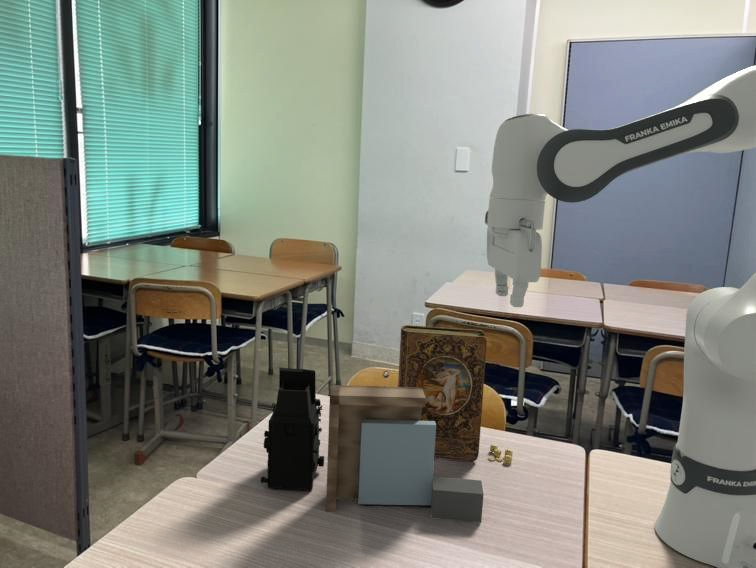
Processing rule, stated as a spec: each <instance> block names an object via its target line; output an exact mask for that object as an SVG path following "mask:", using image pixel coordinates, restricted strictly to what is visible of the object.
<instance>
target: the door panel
mask: <svg viewBox="0 0 756 568" xmlns="http://www.w3.org/2000/svg"><path fill="white" fill-rule="evenodd" d="M435 436H436V423H435V421H411V420H372V419H362V422H361V445H360V468H359V491H358V499H357V502H358V503H357V504H358V505H386V506H387V505H390V506H391V505H392V506H431V497H432V482H433V476H434V465H435V464H434V463H435V458H434V451H435Z"/></svg>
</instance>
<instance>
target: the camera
mask: <svg viewBox="0 0 756 568" xmlns="http://www.w3.org/2000/svg"><path fill="white" fill-rule="evenodd" d="M278 372H279V373H278V374H279V375H278V377H279V378H278V379H279V381H278V390H277V395H276V397H277V399H276V402H274V401H273V402H272V404H271V407H273V408H272V409H273V410H272V414H271V416H270V418H269V419H268V430H264V433H263V435H264V439H263V449H265V450H266V451H265V452H266V453H267V477H265V476H261V477H260V483H261V484H264V483H266V484H267V487H268V488H269V489H277V490H278V489H280V490H295V491H297V490H300V491H311V492H312V491H313V488H314V481H315V477H316V474H317V470H318V467H321V468H323V467H324V466H325V456H324V455H320V446H321V440H320V439H319V438H320V435H321V432H323V428H321V426H319V425H320V423H321V421H322V418H321V416H322V413H321V412H322V410H323V405H322V403H321V399H320V398H316V396H317V393H316V387H317V385H316V370H315V369H307V368H306V369H305V368H290V367H279V368H278Z"/></svg>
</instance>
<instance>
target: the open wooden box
mask: <svg viewBox="0 0 756 568" xmlns="http://www.w3.org/2000/svg"><path fill="white" fill-rule="evenodd" d="M329 390H330V391H329V408H328V410H329V411H328V436H327V437H328V438H327V439H328V442H327V443H328V444H327V445H328V446H327V467H326V468H327V472H326V498H325V499H326V500H325V511H326V512H336V504H337V503H336V500H358V491H359V468H360V445H361V422H362V419H372V420H411V421H421V409H422V407H425V400H426V398H425V395H424V392H423V389H422V388H417V387H398V386H381V385H380V386H379V385H378V386H377V385H375V386H373V385H347V384H346V385H344V384H343V385H341V384H330V389H329Z"/></svg>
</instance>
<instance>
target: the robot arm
mask: <svg viewBox="0 0 756 568" xmlns="http://www.w3.org/2000/svg"><path fill="white" fill-rule="evenodd" d="M493 146H494V147H493V151H492V152H493V154H492V160H491V161H492V162H491V175H492V188H491V191H490V194H489V197H488V198H489V199H488V201H489V202H488V207H487V208H488V209H487V211H486V212H485V214H484V224H485V225H487V228H486V260H487V264H488V266H489V267H491V268H493V269H494V280H495V294H496V295H497V296H499V297H507V296H508V294H509V293H508V292H509V285H508V278H510V279H512V286H513V287H512V290H511V291H512V292H511V294H510V295H509V296H510V298H509V304H510V305H511V306H512V307H513V308H522V307H523V306H524V304H525V303H524V302H525V301H524V300H525V296H526V294H527V291H528V288H529V283H538V282H539V280H540V276H541V273H542V251H543V246H542V245H543V244H542V243H543V242H542V235H541V234H540V233H539V232H537V231H539V230H540V231H541V230H543V228H544V219H545V216H544V215H545V207H546V206H545V205H546V197H547V195H549V196H550V197H552V199H555V200H558V201H560V202H564V203H570V204H571V203H573V204H575V203H580V202H585V201H587V200H590V199H592V198H593V197H595V196H596V195H598V194H599V193H600V192H601V191H603V190H604V189H605V188H606V187H607V186H608V185H610V184H611V182H612V181H614V180H615V179H617V178H619V177H620V176H623V175H624V174H626V173H628V172H631V171H634V170H637V169H640V168H644V167H646V166H650V165H652V164H656V163H660V162H662V161H665V160H668V159H671V158H674V157H676V156H680V155H684V154H690V153H700V152H704V153H705V152H706V153H714V154H727V153H735V152H740V151H741V152H742V151H746V150H750V149H755V148H756V64H755V65H753V66H750V67H747V68H745V69H742V70H740V71H737V72H736V73H733V74H730V75H728V76H726V77H725V78H722V79H721V80H719V81H717V82H714V83H713V84H711V85H709V86H708V87H706V88H704V89H702V90H701V91H700V92H698V93H696V94H695V95H693V96H691V97H690V98H689V99H687V100H686V101H684V102H682V103H680V104H678V105H677V106H674V107H672V108H669V109H666V110H664V111H661V112H657V113H655V114H653V115H649V116H645V117H643V118H639V119H637V120H634V121H631V122H628V123H626V124H623V125H620V126H617V127H613V128H608V129H587V128H585V129H584V128H573V129H572V128H571V129H567V128H566V127H565V128H564V127H563V126H561V125H559V124H558V123H557V122H555V121H553V120H552V119H550V117H548V115H546V114H543V113H526V114H524V113H523V114H520V115H515V116H512V117H509V118H507V119H506V120H504V121H503V122H502V123H501V124H500V125H499V127H498V129H497V131H496V136H495V141H494V145H493ZM685 315H686V317H685V333H684V335H685V336H684V351H683V352H684V353H683V397H682V405H681V406H682V407H681V414H680V420H679V421H680V422H679V428H678V435H677V436H678V437H677V442H676V443H675V444H674V446H673V449H672V450H673V451H672V456H671V463H670V464H671V465H670V483H669V486H668V491H667V494H666V497H665V499H664V500H665V501H664V502H663V506H662V508H661V510H660V513H659V515H658V517H657V519H656V520H655V522H654V530H655V532H656V535H658V537H659V538H660V540H661V541H663V542H664V543H665V544H666V545H668V546H669V547H670V548H672V549H673V550H675V551H677V552H678V553H680V554H682V555H684V556H686V557H688V558H690V559H692V560H695V561H697V562H700V563H704V564H706V565H710V566H713V567H716V568H756V272H754V273H753V274H752V275H751V277H750V278H749V279H748V280H747V281H746V282H745V283H744V284H743V285H742V286H741V287H740V288H736V287H729V286H723V287H721V286H720V287H713V288H711V289H707V290H705V291H702V292H701V293H699V294H697V295H696V296H695V297H694V298H693V299H692V301H691V302H690V303H689V305H688V306H687V311H686V314H685Z"/></svg>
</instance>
